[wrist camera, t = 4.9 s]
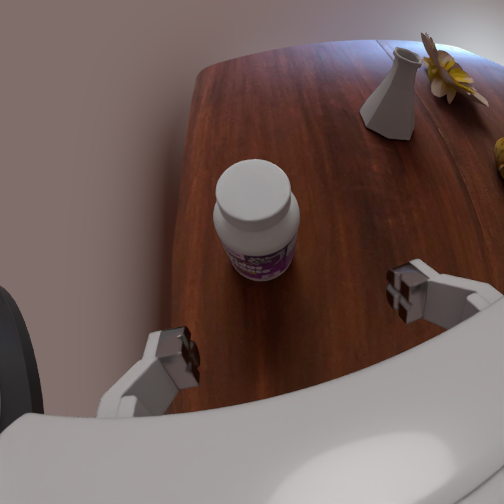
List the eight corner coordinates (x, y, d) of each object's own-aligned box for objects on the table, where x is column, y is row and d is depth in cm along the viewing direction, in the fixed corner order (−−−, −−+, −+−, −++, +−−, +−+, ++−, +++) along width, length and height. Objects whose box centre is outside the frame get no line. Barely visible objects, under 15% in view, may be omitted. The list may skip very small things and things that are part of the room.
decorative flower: (492, 128, 25) (505, 72, 16) (425, 110, 29) (429, 49, 21) (471, 83, 30) (475, 38, 22) (416, 70, 35) (416, 23, 27)
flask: (359, 96, 30) (373, 32, 20) (410, 111, 28) (433, 53, 19) (357, 131, 27) (376, 59, 18) (415, 149, 26) (447, 85, 17)
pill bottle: (223, 277, 23) (188, 226, 14) (236, 219, 25) (215, 146, 16) (289, 288, 22) (297, 241, 13) (298, 227, 24) (307, 155, 15)
